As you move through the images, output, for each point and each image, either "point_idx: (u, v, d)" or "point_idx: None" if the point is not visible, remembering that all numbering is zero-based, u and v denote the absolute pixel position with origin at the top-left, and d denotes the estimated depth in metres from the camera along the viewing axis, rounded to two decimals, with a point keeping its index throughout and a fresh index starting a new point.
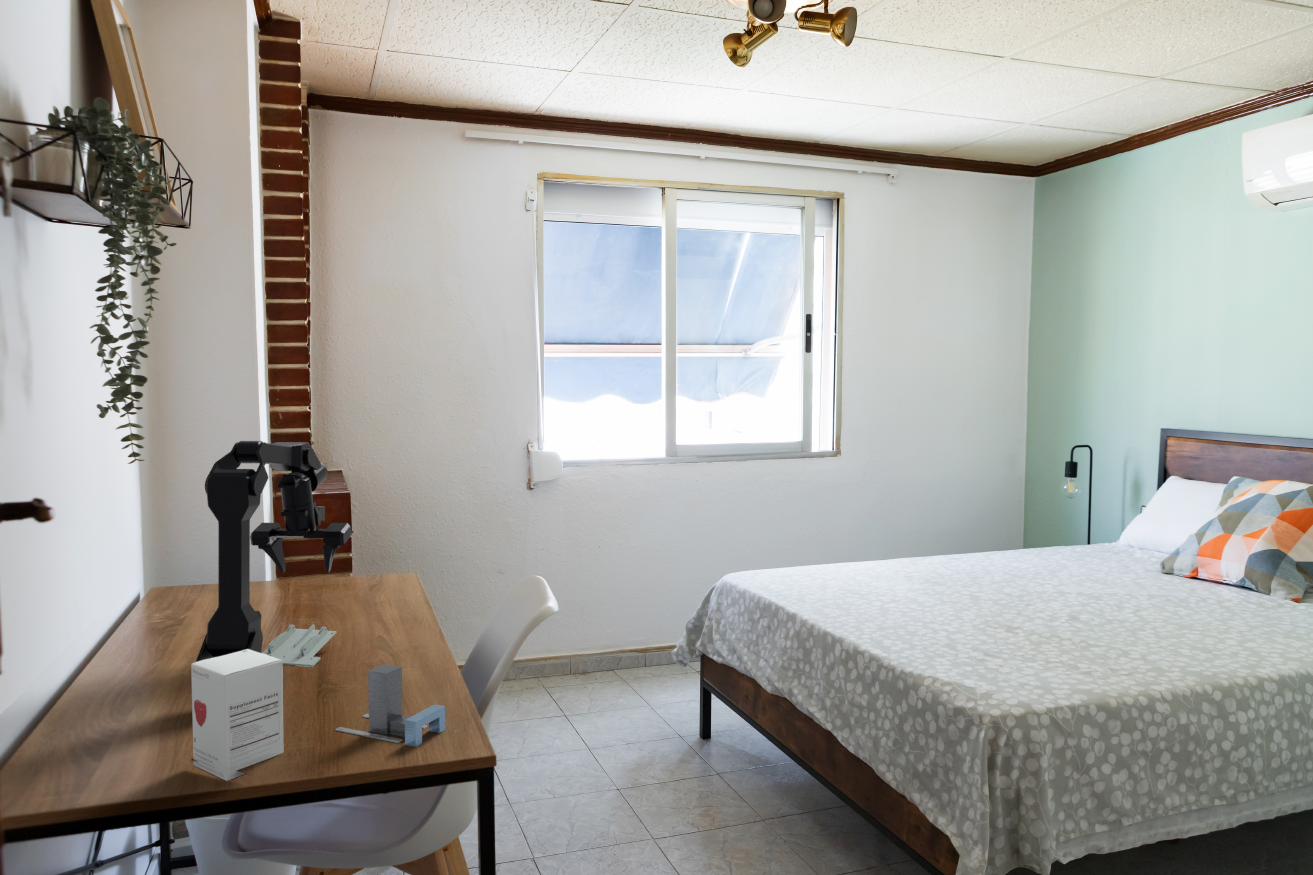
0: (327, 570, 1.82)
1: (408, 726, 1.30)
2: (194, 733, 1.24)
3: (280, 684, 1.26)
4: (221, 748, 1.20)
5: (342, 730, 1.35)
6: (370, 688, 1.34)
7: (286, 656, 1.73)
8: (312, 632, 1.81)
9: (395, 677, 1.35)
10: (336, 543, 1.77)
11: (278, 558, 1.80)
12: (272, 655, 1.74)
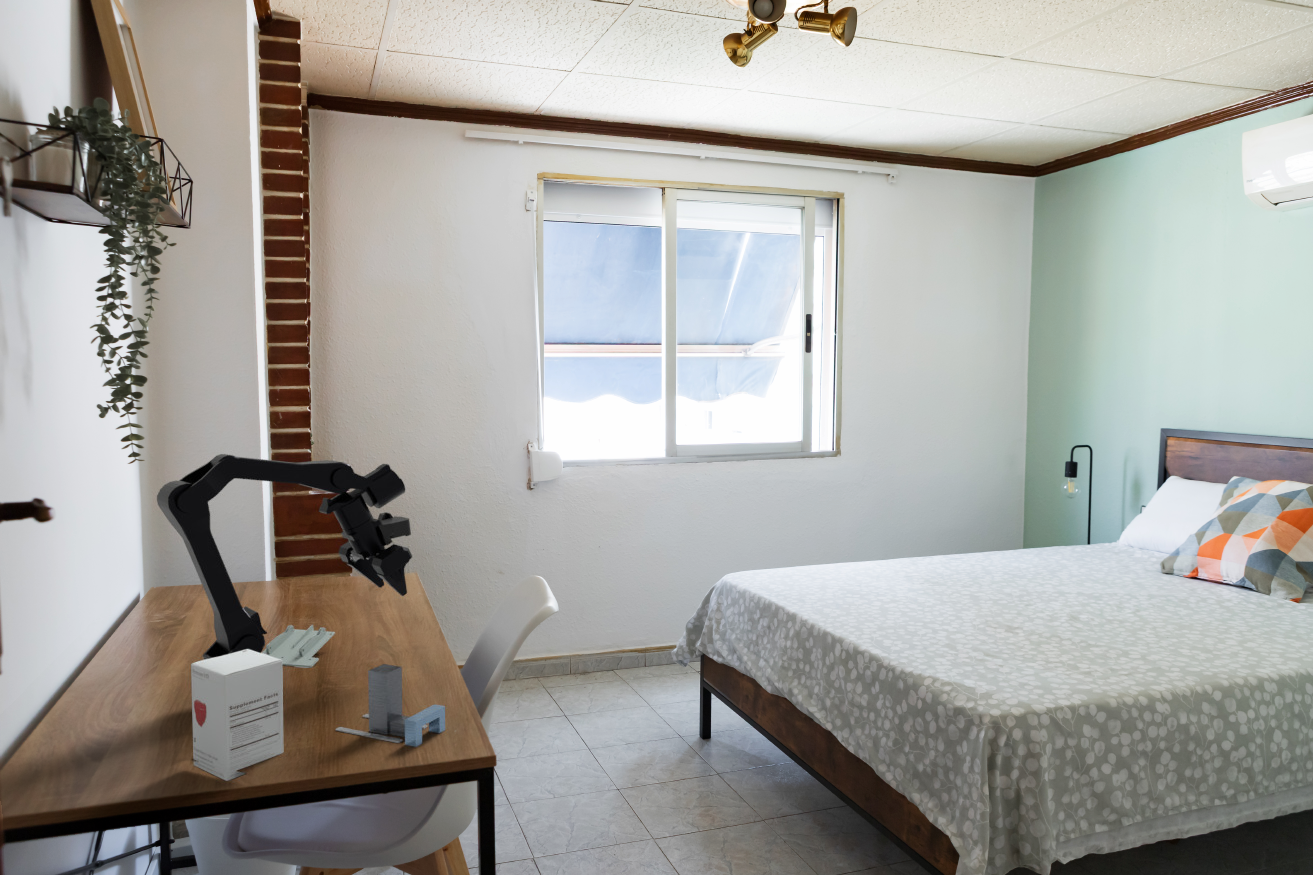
0: None
1: (408, 726, 1.30)
2: (194, 733, 1.24)
3: (280, 684, 1.26)
4: (221, 748, 1.20)
5: (342, 730, 1.35)
6: (370, 688, 1.34)
7: (284, 657, 1.72)
8: (311, 633, 1.81)
9: (395, 677, 1.35)
10: (381, 572, 1.58)
11: (367, 574, 1.70)
12: None
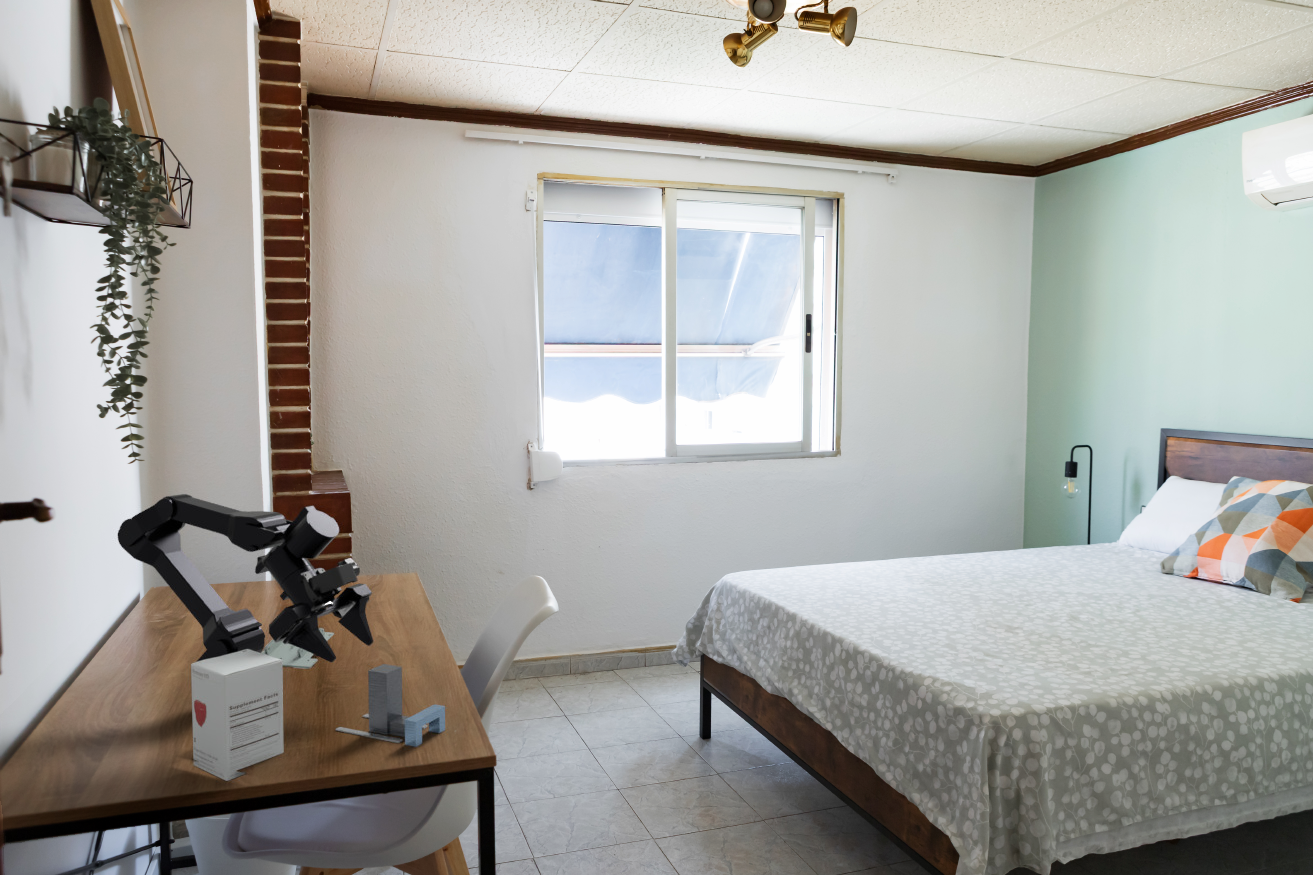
0: None
1: (408, 726, 1.30)
2: (194, 733, 1.24)
3: (280, 684, 1.26)
4: (221, 748, 1.20)
5: (342, 730, 1.35)
6: (370, 688, 1.34)
7: (283, 658, 1.72)
8: None
9: (395, 677, 1.35)
10: None
11: (353, 631, 1.46)
12: None
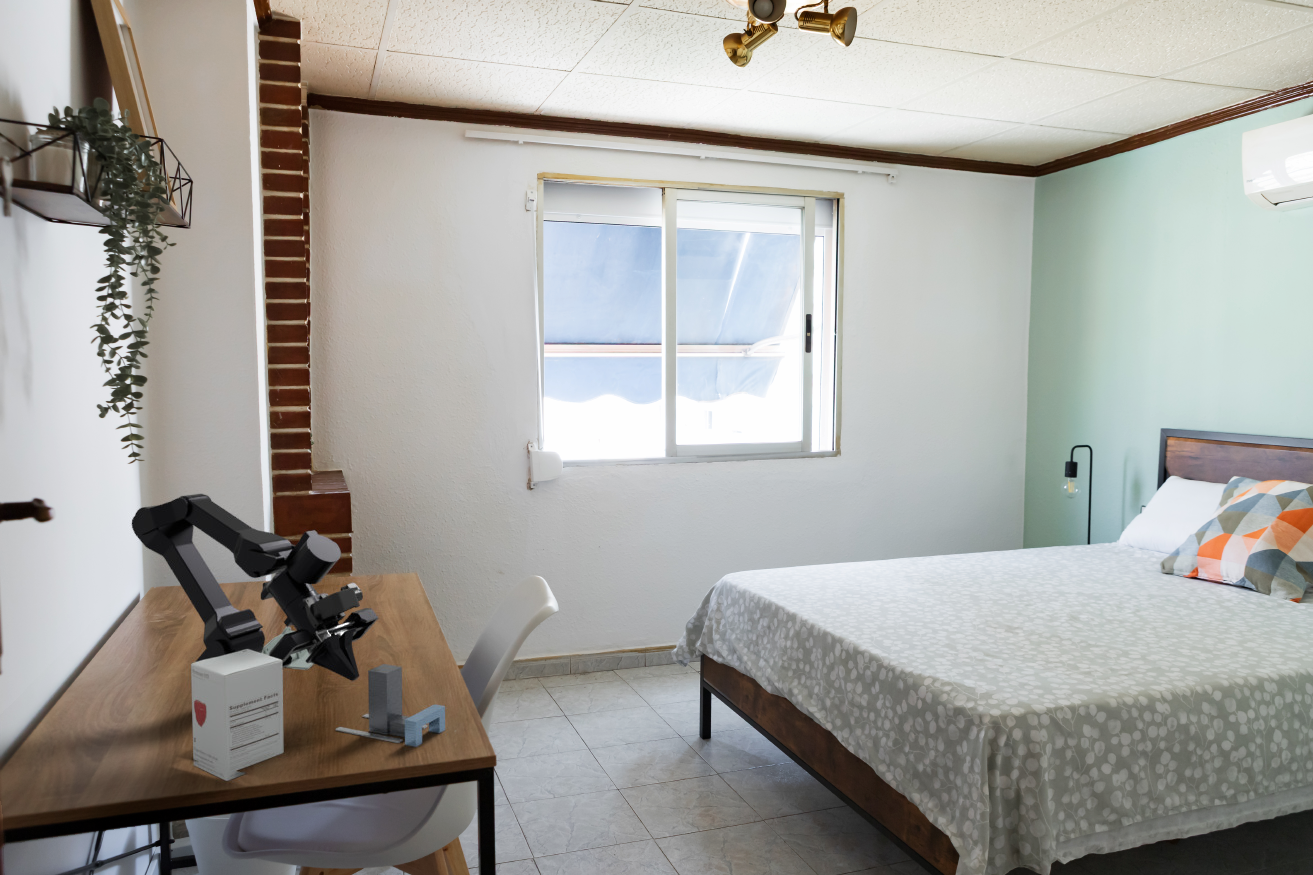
0: None
1: (408, 726, 1.30)
2: (194, 733, 1.24)
3: (280, 684, 1.26)
4: (221, 748, 1.20)
5: (342, 730, 1.35)
6: (370, 688, 1.34)
7: None
8: None
9: (395, 677, 1.35)
10: None
11: None
12: None
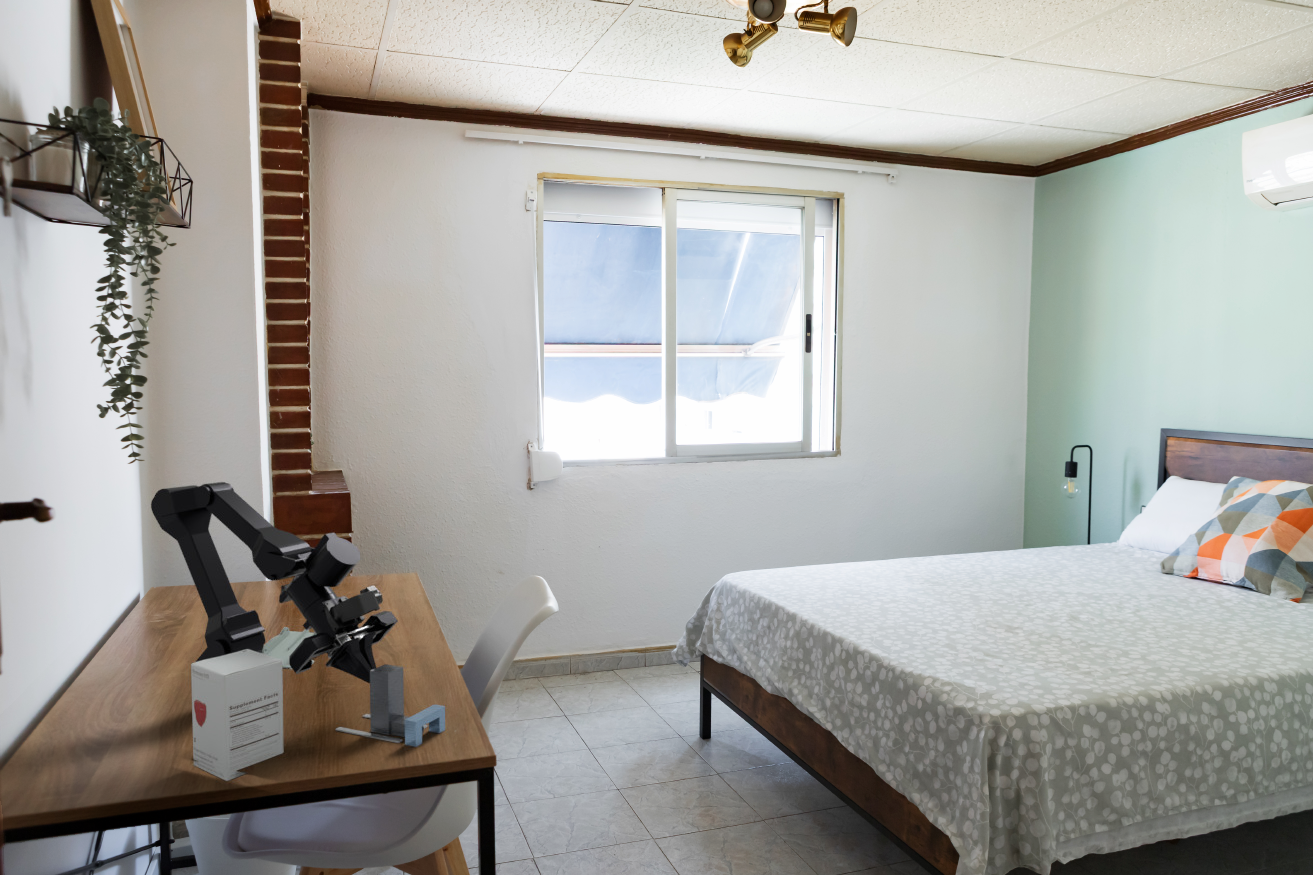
0: None
1: (408, 726, 1.30)
2: (194, 733, 1.24)
3: (280, 684, 1.26)
4: (221, 748, 1.20)
5: (342, 730, 1.35)
6: (372, 688, 1.34)
7: None
8: (306, 635, 1.79)
9: (397, 677, 1.35)
10: None
11: None
12: None
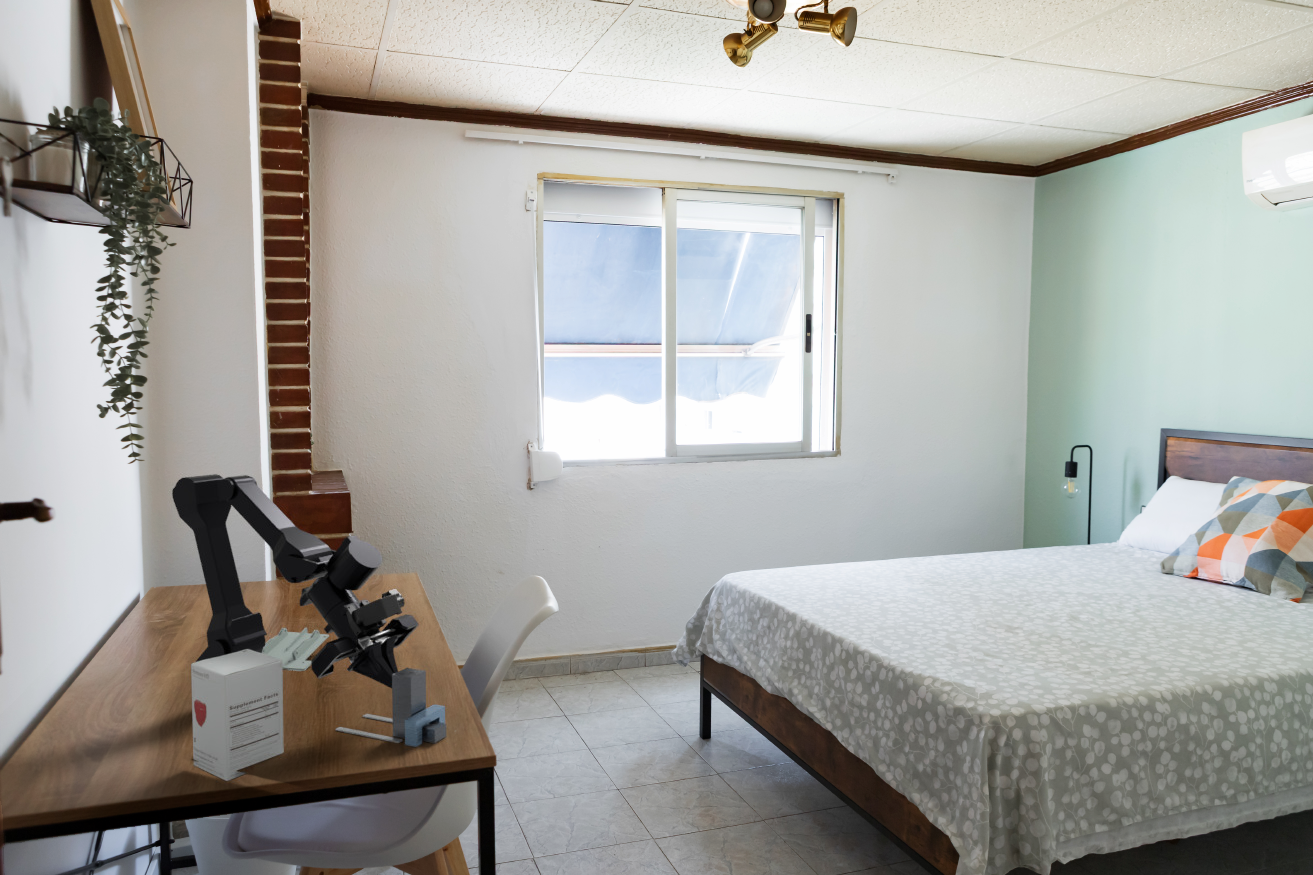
0: None
1: (408, 726, 1.30)
2: (194, 733, 1.24)
3: (280, 684, 1.26)
4: (221, 748, 1.20)
5: (342, 730, 1.35)
6: (394, 692, 1.33)
7: None
8: (304, 635, 1.79)
9: (419, 681, 1.33)
10: None
11: None
12: None
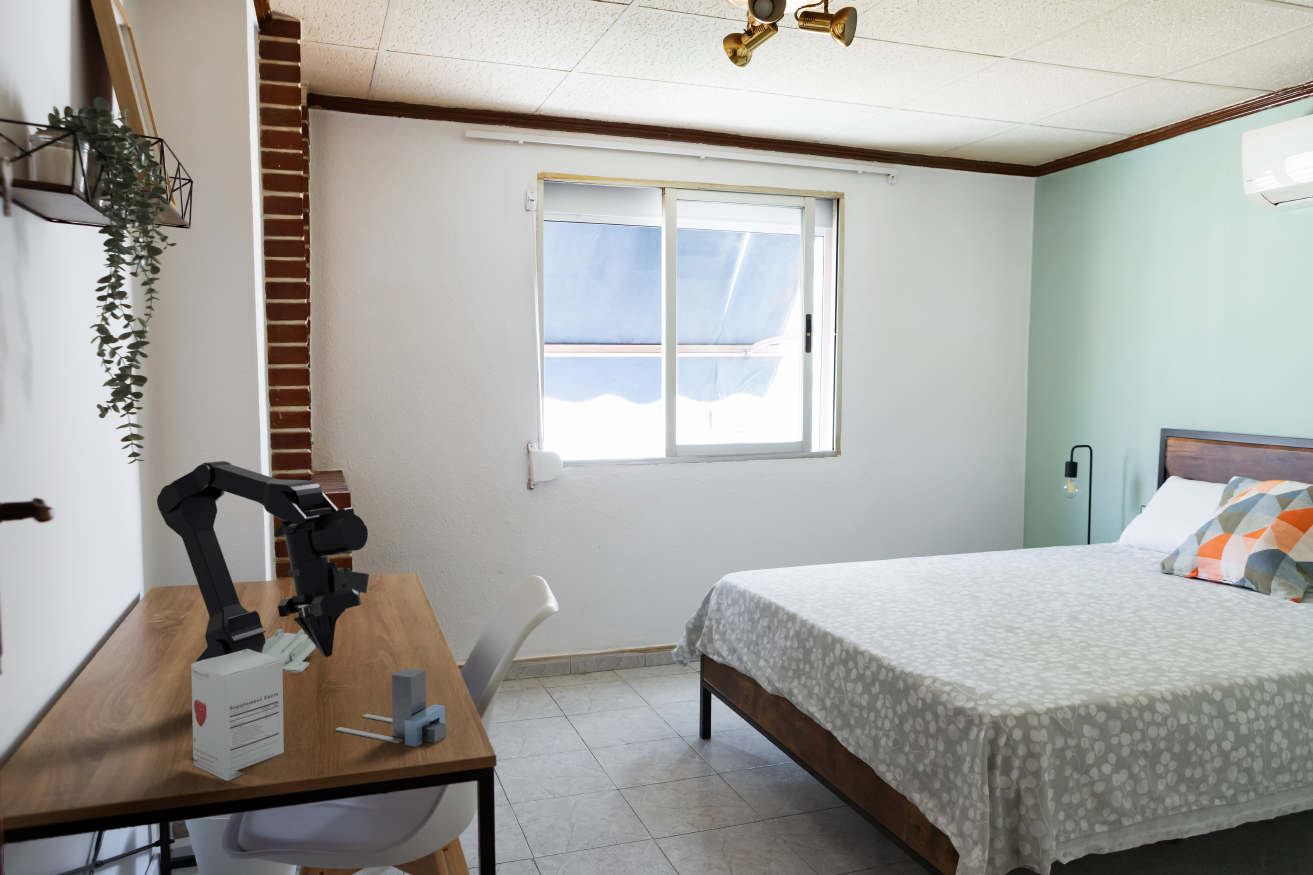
0: (323, 653, 1.39)
1: (408, 726, 1.30)
2: (194, 733, 1.24)
3: (280, 684, 1.26)
4: (221, 748, 1.20)
5: (342, 730, 1.35)
6: (394, 692, 1.33)
7: None
8: (301, 637, 1.78)
9: (419, 681, 1.33)
10: (319, 611, 1.32)
11: None
12: None
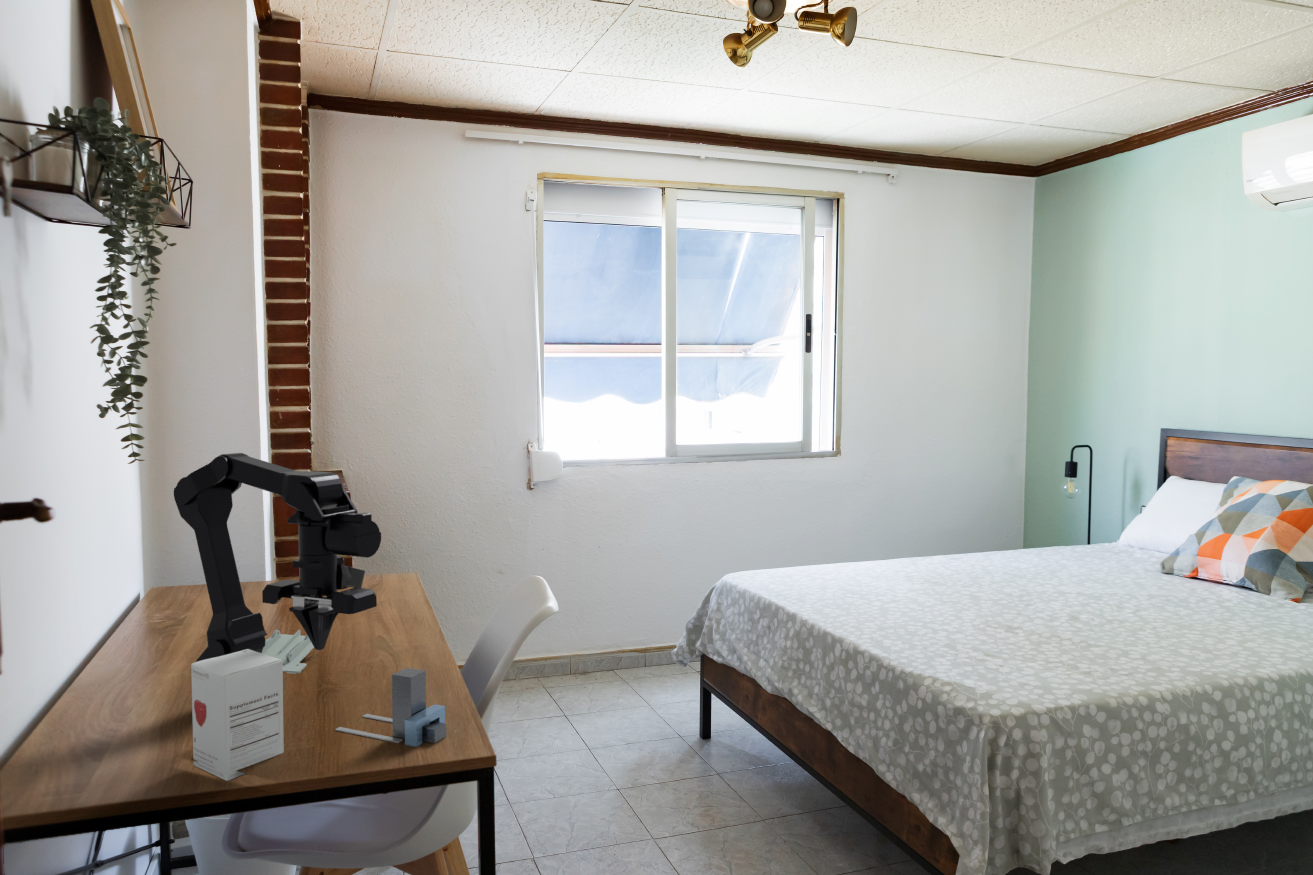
0: (317, 646, 1.39)
1: (408, 726, 1.30)
2: (194, 733, 1.24)
3: (280, 684, 1.26)
4: (221, 747, 1.20)
5: (342, 730, 1.35)
6: (394, 692, 1.33)
7: None
8: (298, 638, 1.77)
9: (419, 681, 1.33)
10: (344, 610, 1.34)
11: (311, 628, 1.39)
12: None
